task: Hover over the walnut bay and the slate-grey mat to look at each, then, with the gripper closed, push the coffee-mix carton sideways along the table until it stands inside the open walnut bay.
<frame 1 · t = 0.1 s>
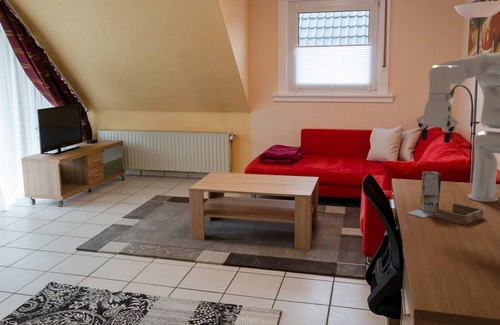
hand: (435, 141, 193), 31 cm above the table, fingers open, 9 cm apart
mat grey: (420, 214, 202), on the table
bay walnut: (457, 217, 198), on the table
coffee box: (428, 210, 208), on the table, touching mat grey
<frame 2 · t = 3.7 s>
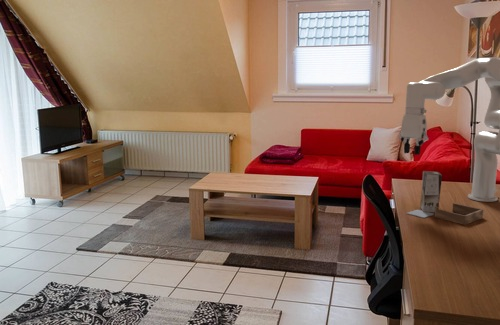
hand: (411, 153, 211), 23 cm above the table, fingers open, 4 cm apart
nothing on the table moved.
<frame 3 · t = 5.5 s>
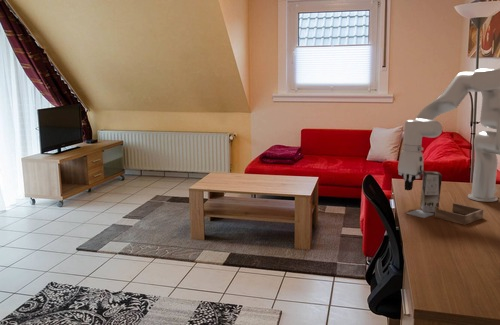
hand: (408, 189, 214), 7 cm above the table, fingers closed
nothing on the table moved.
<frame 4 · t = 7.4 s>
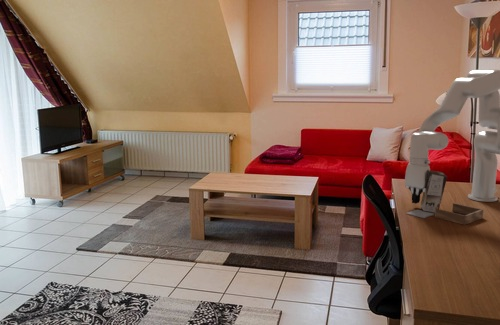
hand: (415, 202, 212), 2 cm above the table, fingers closed
coffee box: (428, 209, 208), on the table
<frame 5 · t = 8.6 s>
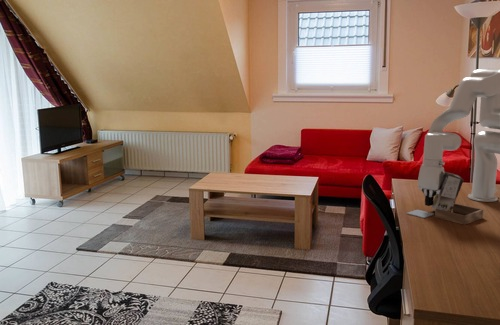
hand: (428, 205, 207), 2 cm above the table, fingers closed
coffee box: (440, 211, 204), point 1 cm above the table, touching gripper
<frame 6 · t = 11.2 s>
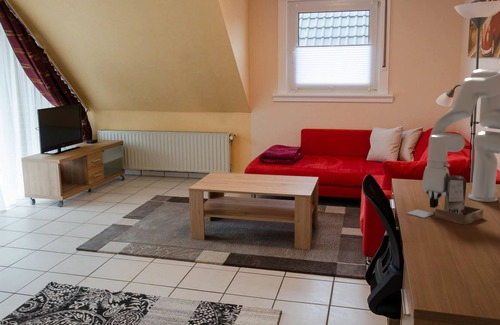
hand: (433, 207, 206), 2 cm above the table, fingers closed
coffee box: (453, 216, 200), resting in bay walnut
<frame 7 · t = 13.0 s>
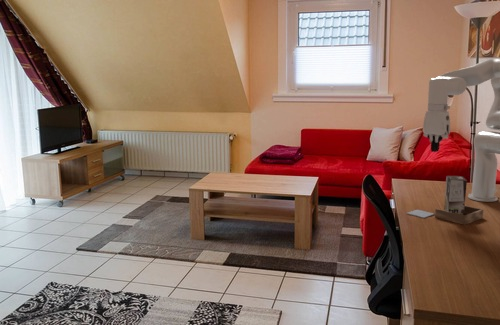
hand: (434, 151, 206), 25 cm above the table, fingers closed
nothing on the table moved.
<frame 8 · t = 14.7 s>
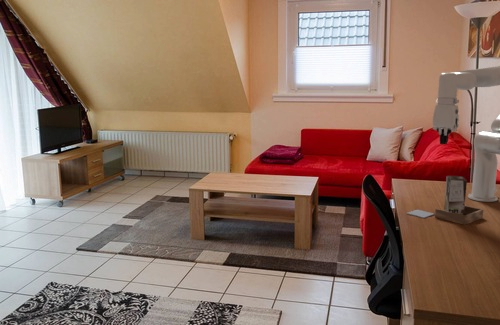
hand: (443, 143, 213), 27 cm above the table, fingers closed
nothing on the table moved.
at the end: coffee box inside the target area on the bay walnut (2.2 cm from its centre), point 0.0 cm above the bay walnut's base; coffee box tilted 0°; coffee box moved 10.8 cm from its start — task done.
